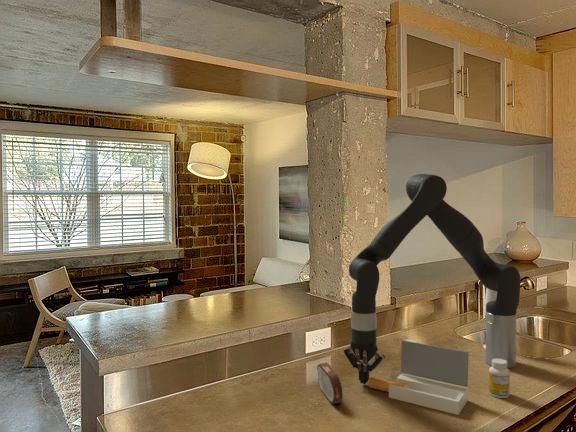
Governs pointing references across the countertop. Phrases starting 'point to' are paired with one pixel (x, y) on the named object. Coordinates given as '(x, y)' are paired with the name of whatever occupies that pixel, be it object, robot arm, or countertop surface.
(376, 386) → the rod
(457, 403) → the white open tray
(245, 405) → the countertop surface
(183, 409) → the countertop surface
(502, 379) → the supplement bottle
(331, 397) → the tin
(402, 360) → the cover
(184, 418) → the countertop surface
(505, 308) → the robot arm
